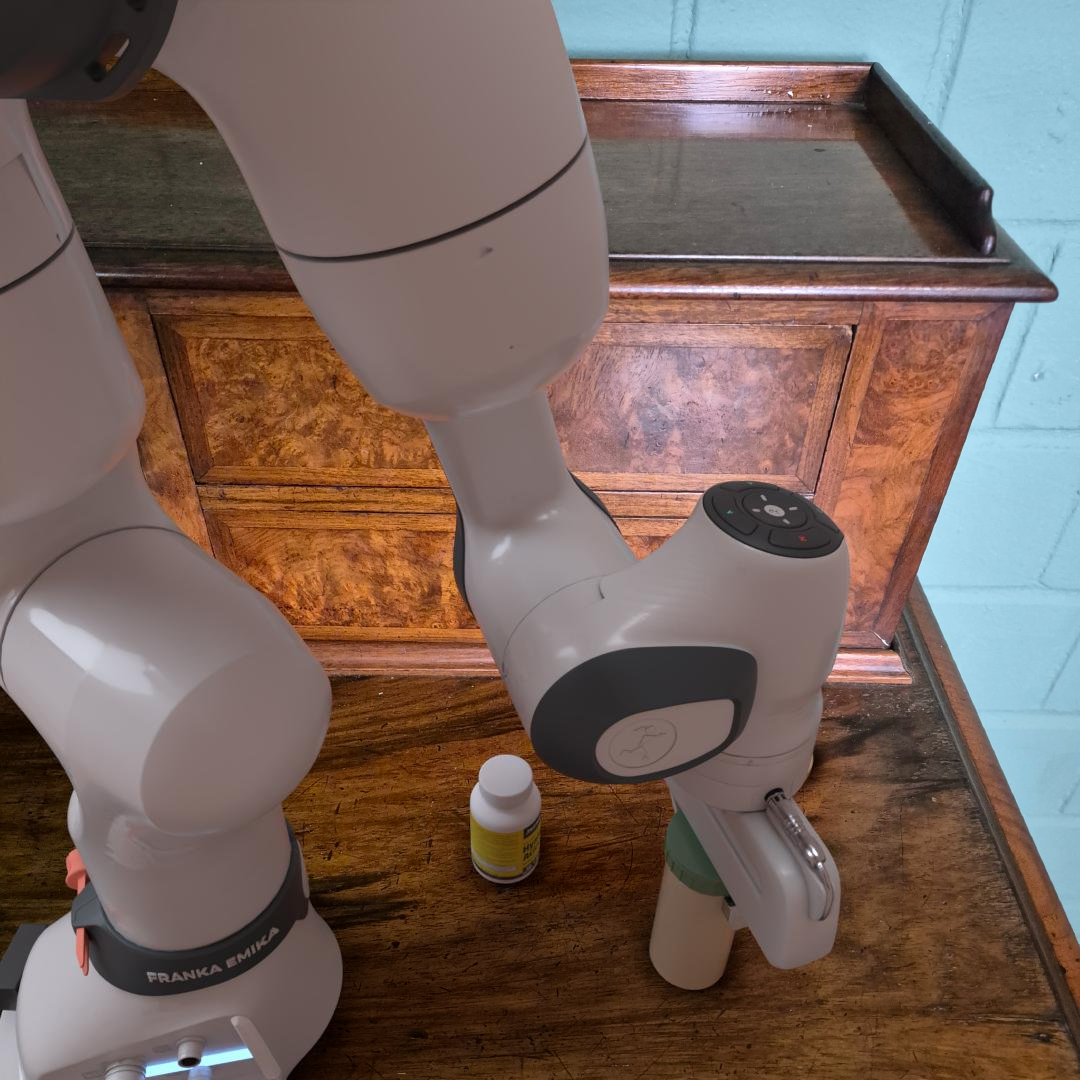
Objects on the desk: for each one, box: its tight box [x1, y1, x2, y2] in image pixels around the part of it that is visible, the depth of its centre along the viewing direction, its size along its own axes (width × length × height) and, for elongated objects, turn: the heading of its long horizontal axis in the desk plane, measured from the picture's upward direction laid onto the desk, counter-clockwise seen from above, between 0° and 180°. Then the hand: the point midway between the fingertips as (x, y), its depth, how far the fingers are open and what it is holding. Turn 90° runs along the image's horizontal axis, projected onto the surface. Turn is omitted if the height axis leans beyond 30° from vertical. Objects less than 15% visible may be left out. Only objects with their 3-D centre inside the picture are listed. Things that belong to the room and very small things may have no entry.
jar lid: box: [662, 809, 730, 896], centre depth 62 cm, size 6×6×2 cm
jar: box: [648, 860, 737, 991], centre depth 65 cm, size 6×6×12 cm
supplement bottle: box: [469, 754, 542, 884], centre depth 72 cm, size 5×5×10 cm
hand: (712, 872), depth 64 cm, fingers closed on jar, 5 cm apart
